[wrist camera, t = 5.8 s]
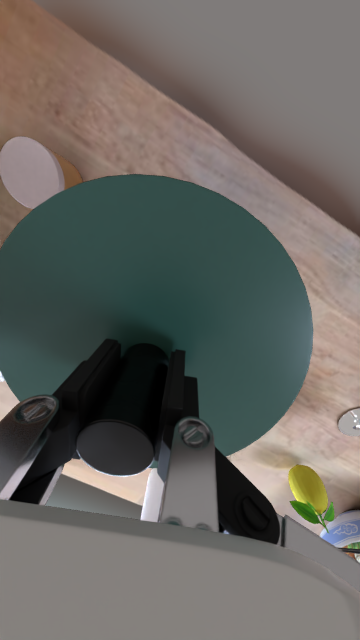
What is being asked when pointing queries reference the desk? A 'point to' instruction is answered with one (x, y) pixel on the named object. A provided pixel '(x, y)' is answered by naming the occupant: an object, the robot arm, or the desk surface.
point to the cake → (34, 171)
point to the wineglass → (350, 422)
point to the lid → (153, 311)
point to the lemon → (309, 495)
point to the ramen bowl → (345, 533)
